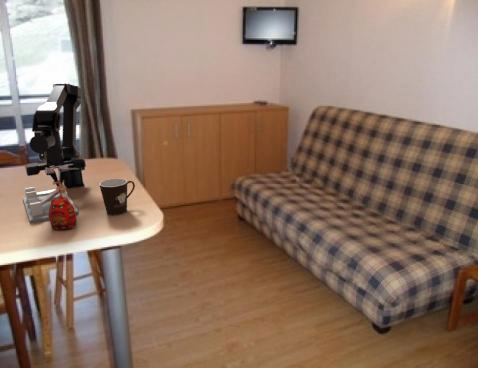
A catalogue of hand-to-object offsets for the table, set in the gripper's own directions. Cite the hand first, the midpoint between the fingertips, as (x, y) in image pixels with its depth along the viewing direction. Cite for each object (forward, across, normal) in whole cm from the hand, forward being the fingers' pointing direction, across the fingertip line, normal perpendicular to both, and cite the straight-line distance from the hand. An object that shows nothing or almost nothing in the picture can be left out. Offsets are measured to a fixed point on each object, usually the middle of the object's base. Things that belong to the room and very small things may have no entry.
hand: (59, 189), depth 142 cm
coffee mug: (+4, -15, +23) cm, 28 cm away
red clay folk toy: (+4, +3, +26) cm, 26 cm away
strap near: (-1, +4, +12) cm, 13 cm away
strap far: (+1, +4, 0) cm, 4 cm away
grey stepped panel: (+4, +5, +6) cm, 8 cm away
